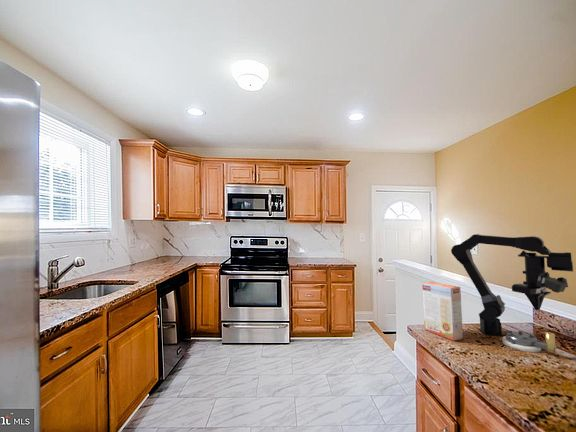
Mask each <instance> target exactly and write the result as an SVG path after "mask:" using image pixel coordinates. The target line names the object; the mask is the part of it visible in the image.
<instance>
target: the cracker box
mask: <svg viewBox="0 0 576 432" xmlns="http://www.w3.org/2000/svg"><path fill="white" fill-rule="evenodd" d="M461 293H462V292H461V287H460V286H456V285H451V284H447V283H442V282H441V283H440V282H435V281H425V282H422V302H423V305H422V306H423V326H424V331H427V332H429V333H432V334H434V335H437V336H440V337H442V338H445V339H448V340H449V341H453V342H454V341H460V340H463V339H464V330H463V329H464V328H463V312H462V296H461V295H462V294H461Z"/></svg>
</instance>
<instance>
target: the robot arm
mask: <svg viewBox="0 0 576 432" xmlns="http://www.w3.org/2000/svg"><path fill="white" fill-rule="evenodd" d="M479 244H480V245H481V244H483V245H492V246H503V247H512V248H516V249H520V250H522V251H521V252H520V253H519V254H517V257H519V258H520V257H522V258H524V268H525V269H524V270H522V274H524V275H525V280H524V281H522V283H514V284H512V286H511V292H514V293H515V292H516V293H519V294H524V295H525V296H526V297H527V300H529V302H530V303H531V305H532V307H533V309H534V310H535V311H540V310H541V307H542V304H543V301H544V300H545V298H546V296H549V295H550V294H552V292H553V293H557V294H558V293H565V290H566V288H569V283H568V281H567V278H564V277H557V278H555V277H551V276H550V273H549V271H546V267H547V268H550V270H551V271H558V272H559V271H560V272H571V273H572V272H574V261H573V260H572V257H573V256H572V252H554V251H553V252H552V251H551V250H550V249H549V248H548V247H547V246H546V245H545V242H544V240H543V238H541V237H539V236H536V235H533V236H530V235H529V236H516V237H510V236H497V235H487V234H486V235H484V234H480V233H478V234H472V235H471V236H470V237H468V238H467V239H466V240H464V241H462V242H461V243H459V244H455V245H453V246H452V247H451V249H450V252H451V253H450V254H452V256H453V257H454V258H455V259H456V260H457V262H459V263H460V264H461V265H462V266H463V268H464V269H465V271H466V273H467V275H468V276H469V278H470V280H471V281H472V283H473V285H474V287H475V288H476V290H477V292H478V293H479V295H480V299H481V303H482V305H483V310H481V312H479V313H478V317H479V326H480V327H479V328H478V329H477V330H478V331H479V332H481V333H482V334H484V335H485V336H494V337H495V336H498V337H499V336H501V337H504V334H503V330H502V329H503V327H502V322H501V319H500V318H499V317H501V315H503V313H504V312H505V310H506V307H505V305H506V303H505V302H504V301H503V299H502V297H501V296H500V295H499V294H497V295H495V294H494V293H493V292H492V290H491V289H490V287H489V285H488V284H487V281H485V279H484V277H483V276H482V274H481V272H480V271H479V269H478V267H477V265H476V264H475V262H474V259H473V255H472V251H471V250H472V249H474V248H476V247H477V246H478V245H479ZM527 251H528V252H527ZM537 253H538V254H537ZM539 254H540V255H539ZM545 259H546V261H545ZM545 262H546V264H545ZM547 289H548V290H551V291H552V292H551V291H547Z"/></svg>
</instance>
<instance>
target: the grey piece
mask: <svg viewBox="0 0 576 432" xmlns="http://www.w3.org/2000/svg"><path fill="white" fill-rule="evenodd" d="M544 335H545V337H544V338H545V343H544V342H539V341H538V338H537V337H536V335H535V334H533V333H527V332H523V330H519V329H518V330H517V331H514V330H513V331H512V330H509V329H508V330H506V332H505V336H506V340H507V341H509V342H511V343H514V344H518V345H522V346H537V347H540V348H541V349H543V350H545V351H546V352H549V353H552V354H553V353H554V354H555V353H557V346H556V334H555V333H553V332H550V331H546V332H544Z"/></svg>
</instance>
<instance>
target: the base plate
mask: <svg viewBox="0 0 576 432" xmlns="http://www.w3.org/2000/svg"><path fill="white" fill-rule="evenodd" d="M501 339H502V344H503V345H504V346H506V347H508V348H511V349H513V350H516V351H521V352H526V353H527V352H528V353H539V352H541V351H542V348H540V347H537V346H522V345H518V344H514V343H511V342H509V341H507V340H506V335H505V336H504V335H503V336H502V338H501Z"/></svg>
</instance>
